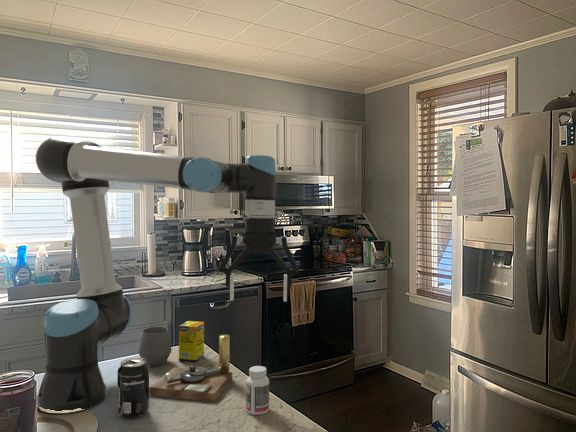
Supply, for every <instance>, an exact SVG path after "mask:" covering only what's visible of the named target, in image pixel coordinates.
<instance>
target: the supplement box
mask: <svg viewBox="0 0 576 432" xmlns="http://www.w3.org/2000/svg"><path fill="white" fill-rule="evenodd" d="M178 337H179V338H178V361H179V362H187V363H198V361H200V360H201V359H202V358H204V356H205V322H204V321H193V320H187V321H185V322H183V323H182V324H180V325H179V326H178Z"/></svg>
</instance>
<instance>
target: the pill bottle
mask: <svg viewBox="0 0 576 432" xmlns="http://www.w3.org/2000/svg"><path fill="white" fill-rule="evenodd" d="M267 374H268V373H267V367H266V366H262V365H255V366H254V365H253V366H251V367H250V368H249V369H248V375H249V376H248V377H247V378H246V379H245V381H246V382H245V408H246V409H245V410H246V412H247V413H249V414H250V415H253V416H254V415H256V416H259V415H265V414H266V413H268V412H269V409H270V378H268V376H267Z"/></svg>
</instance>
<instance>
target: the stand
mask: <svg viewBox="0 0 576 432" xmlns="http://www.w3.org/2000/svg"><path fill="white" fill-rule="evenodd" d="M188 369H189V368H186V367H176V366H175V367H173V368H171V369H170V370H169V371H168V372H167V373H171V374H172V375H173V378H175V377H180V374H181V373H182V372H183V371H186V370H188ZM206 371H207V369H206ZM232 381H233V372H231V371H229V372H228V373H219V374H214V375H209V376H205V379H204V380H203V381H201V382H197V383H184V382H182V381H178V382H174V383H169V384H168V383H167V382H166V381H165V380H164V375H163V376H162V377H160V378H159V379H158V380H157V381H155V382H154V383H153V384H151V385H149V396H155V397H156V396H157V397H163V398H164V397H166V398H175V399H184V400H194V401H204V402H211V403H212V402H215V401H216V400H217V399H218V398H219V396H220V395H221V394H222V393H223V391H225V390H226V388H227V387H228V386H229V384H230V383H231V382H232Z"/></svg>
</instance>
